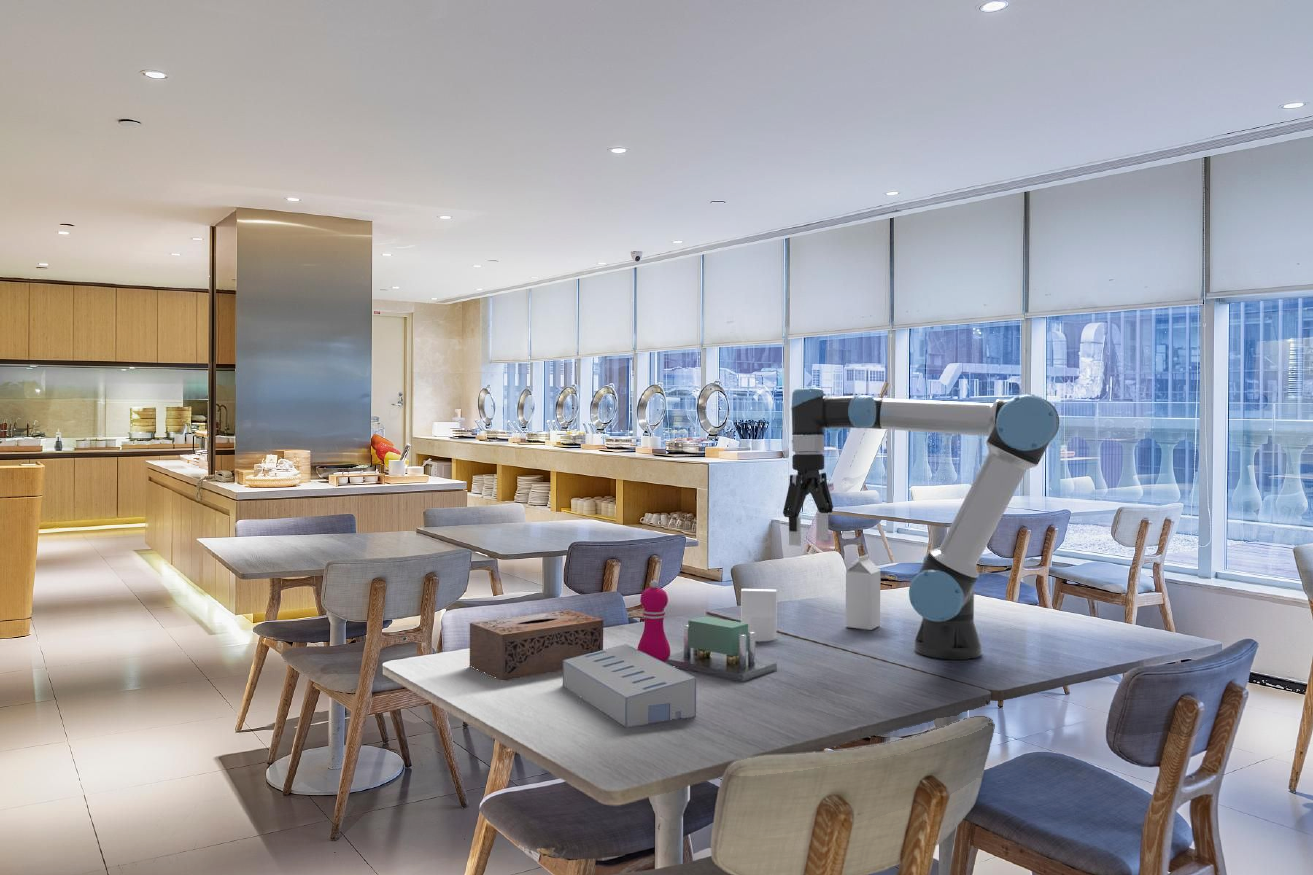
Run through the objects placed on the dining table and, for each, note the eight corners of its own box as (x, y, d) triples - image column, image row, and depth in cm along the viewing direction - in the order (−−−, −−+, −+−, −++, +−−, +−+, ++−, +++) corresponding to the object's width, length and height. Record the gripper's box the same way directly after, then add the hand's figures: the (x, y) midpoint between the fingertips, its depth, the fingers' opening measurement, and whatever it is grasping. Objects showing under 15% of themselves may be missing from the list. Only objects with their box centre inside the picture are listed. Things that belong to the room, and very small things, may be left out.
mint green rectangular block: (747, 650, 213) (748, 623, 213) (732, 655, 208) (732, 627, 208) (704, 642, 220) (704, 616, 220) (688, 647, 216) (688, 620, 216)
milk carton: (880, 626, 259) (880, 555, 259) (870, 630, 253) (871, 558, 253) (854, 622, 263) (855, 553, 263) (845, 627, 257) (845, 556, 257)
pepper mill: (646, 678, 204) (646, 584, 204) (631, 670, 211) (631, 578, 211) (676, 674, 208) (676, 581, 208) (660, 666, 214) (661, 576, 214)
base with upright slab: (776, 633, 249) (776, 587, 248) (776, 641, 240) (777, 593, 239) (740, 632, 249) (741, 586, 249) (740, 640, 241) (740, 592, 240)
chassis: (776, 669, 212) (777, 631, 212) (743, 681, 202) (743, 641, 202) (696, 653, 226) (697, 617, 226) (661, 664, 216) (662, 626, 216)
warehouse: (562, 687, 198) (562, 650, 198) (625, 679, 205) (626, 644, 205) (625, 729, 172) (625, 686, 172) (695, 718, 178) (696, 677, 178)
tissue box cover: (567, 651, 229) (568, 609, 229) (603, 664, 218) (603, 619, 217) (469, 667, 213) (469, 622, 213) (501, 682, 202) (502, 634, 201)
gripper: (819, 452, 242) (820, 536, 242) (767, 454, 222) (768, 546, 222) (846, 452, 237) (847, 538, 238) (796, 454, 218) (797, 548, 218)
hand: (809, 542), depth 230 cm, fingers open, 13 cm apart
